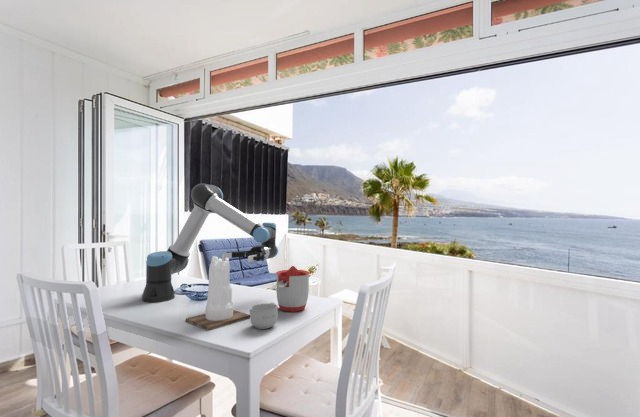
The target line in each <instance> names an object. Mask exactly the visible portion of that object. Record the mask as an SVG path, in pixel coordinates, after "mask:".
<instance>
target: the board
mask: <svg viewBox="0 0 640 417" xmlns="http://www.w3.org/2000/svg"><path fill="white" fill-rule="evenodd" d="M247 319H250V314H248V313H245V312H241V311H238V310H234V309H233V316H232V317H231V318H229V319H226V320H220V321H213V320H212V321H211V320H207V319H206V312H205V313H202V314H198V315H194V316H190V317H187V318H185V322H186V323H189V324H192V325H194V326H196V327H199V328H201V329H204V330H206V331H212V330H214V329H219V328H221V327H224V326H227V325H231V324H234V323H237V322H241V321H245V320H247Z"/></svg>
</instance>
